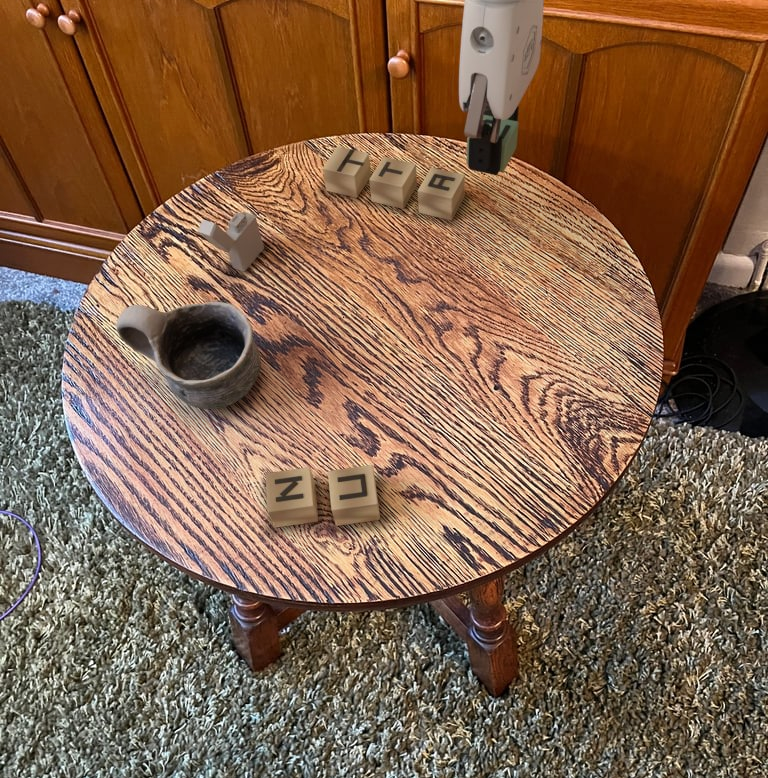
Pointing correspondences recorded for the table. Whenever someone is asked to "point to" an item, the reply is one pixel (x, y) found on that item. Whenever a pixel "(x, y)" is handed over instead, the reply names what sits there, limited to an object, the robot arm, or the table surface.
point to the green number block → (503, 139)
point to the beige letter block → (347, 171)
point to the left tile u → (353, 495)
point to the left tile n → (291, 497)
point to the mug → (196, 350)
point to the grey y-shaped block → (236, 239)
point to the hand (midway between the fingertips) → (492, 153)
